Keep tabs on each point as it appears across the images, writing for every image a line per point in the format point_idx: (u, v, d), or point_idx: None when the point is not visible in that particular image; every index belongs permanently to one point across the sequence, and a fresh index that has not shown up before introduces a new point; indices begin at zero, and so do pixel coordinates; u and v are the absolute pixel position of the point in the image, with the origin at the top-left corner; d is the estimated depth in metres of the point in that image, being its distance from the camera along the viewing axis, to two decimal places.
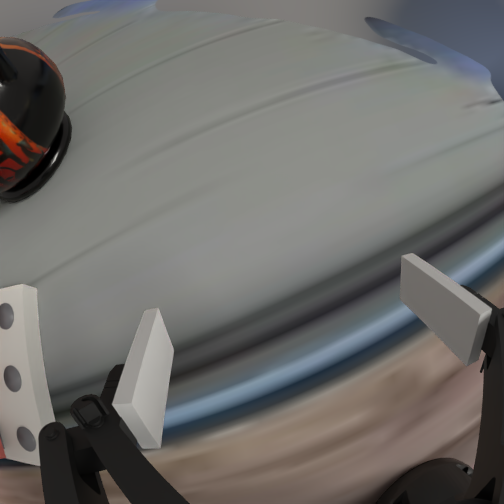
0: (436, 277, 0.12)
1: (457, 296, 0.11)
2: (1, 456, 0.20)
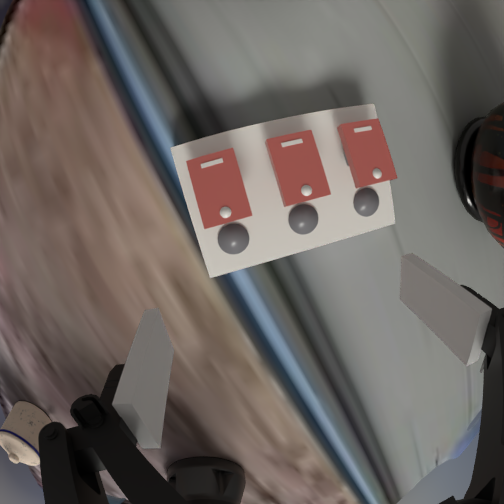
0: (436, 277, 0.12)
1: (457, 296, 0.11)
2: (207, 228, 0.28)
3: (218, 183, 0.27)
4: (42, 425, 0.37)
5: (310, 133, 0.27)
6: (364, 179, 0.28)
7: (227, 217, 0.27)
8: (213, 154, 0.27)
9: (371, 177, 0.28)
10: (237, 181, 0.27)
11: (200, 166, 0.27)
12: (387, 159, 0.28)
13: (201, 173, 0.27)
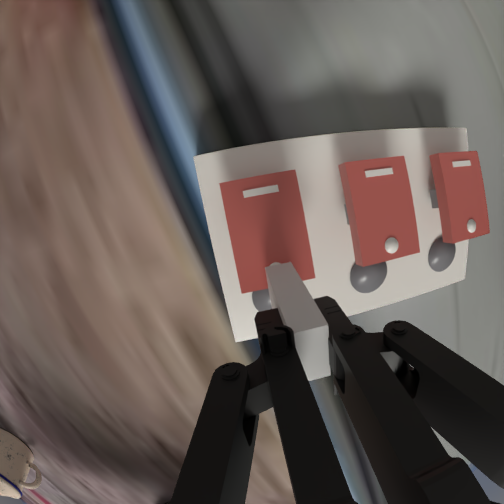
0: (293, 287, 0.14)
1: (299, 308, 0.13)
2: None
3: (268, 224, 0.18)
4: (22, 458, 0.28)
5: (403, 161, 0.18)
6: (458, 233, 0.18)
7: None
8: (264, 177, 0.17)
9: (465, 231, 0.19)
10: (298, 224, 0.18)
11: (242, 194, 0.17)
12: (482, 207, 0.18)
13: (243, 206, 0.17)
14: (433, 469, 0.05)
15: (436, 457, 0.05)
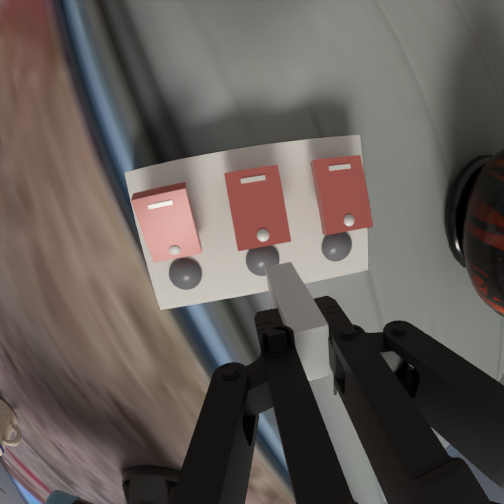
0: (293, 287, 0.14)
1: (299, 308, 0.13)
2: None
3: (167, 224, 0.25)
4: (6, 419, 0.35)
5: (276, 169, 0.25)
6: (332, 226, 0.26)
7: (176, 254, 0.26)
8: (162, 195, 0.23)
9: (341, 224, 0.26)
10: (188, 223, 0.25)
11: (147, 207, 0.23)
12: (363, 204, 0.26)
13: (149, 214, 0.24)
14: (433, 469, 0.05)
15: (436, 457, 0.05)
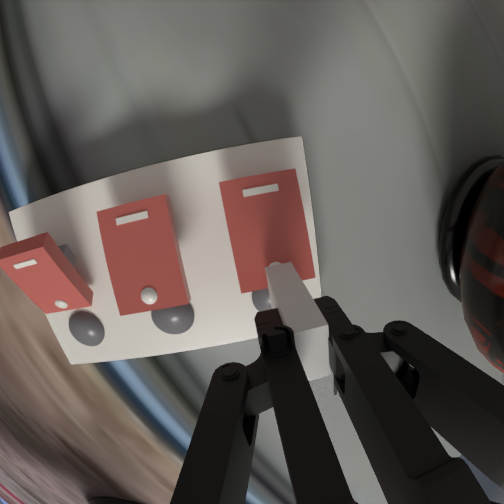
0: (293, 287, 0.14)
1: (299, 308, 0.13)
2: None
3: (41, 281, 0.17)
4: None
5: (162, 201, 0.17)
6: (250, 281, 0.18)
7: (64, 307, 0.19)
8: (22, 255, 0.15)
9: (264, 277, 0.18)
10: (62, 280, 0.17)
11: (14, 266, 0.15)
12: (300, 244, 0.18)
13: (18, 273, 0.16)
14: (433, 469, 0.05)
15: (436, 457, 0.05)
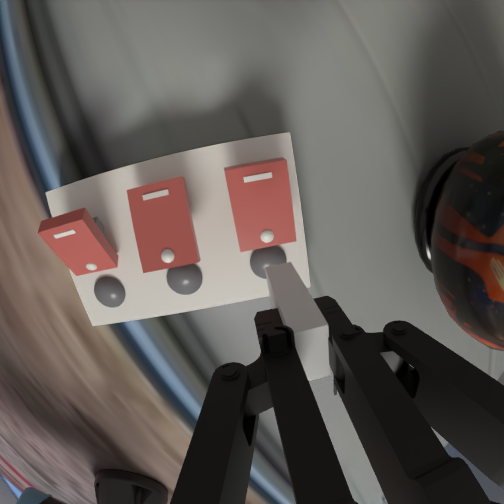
0: (293, 287, 0.14)
1: (299, 308, 0.13)
2: None
3: (77, 248, 0.22)
4: None
5: (180, 181, 0.22)
6: (247, 243, 0.24)
7: (94, 269, 0.24)
8: (63, 226, 0.20)
9: (258, 241, 0.24)
10: (95, 246, 0.22)
11: (54, 236, 0.20)
12: (286, 217, 0.23)
13: (57, 241, 0.21)
14: (433, 469, 0.05)
15: (436, 457, 0.05)
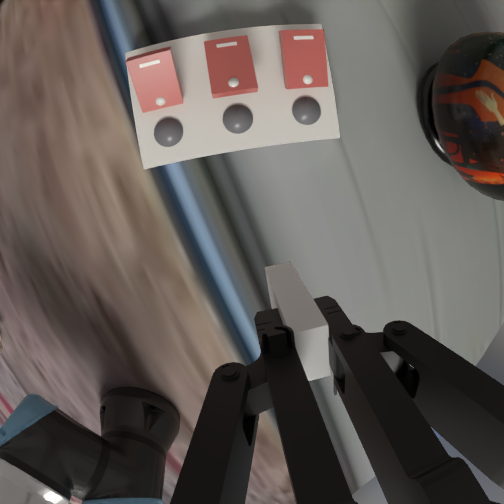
0: (293, 287, 0.14)
1: (299, 308, 0.13)
2: None
3: (155, 79, 0.26)
4: None
5: (245, 38, 0.26)
6: (293, 83, 0.28)
7: (161, 105, 0.28)
8: (151, 56, 0.23)
9: (300, 82, 0.28)
10: (172, 78, 0.26)
11: (139, 66, 0.24)
12: (322, 68, 0.27)
13: (140, 72, 0.25)
14: (433, 469, 0.05)
15: (436, 457, 0.05)
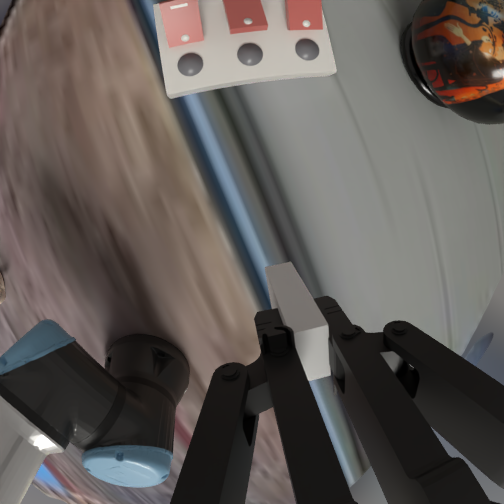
0: (293, 287, 0.14)
1: (299, 308, 0.13)
2: None
3: (182, 19, 0.28)
4: None
5: None
6: (294, 25, 0.30)
7: (186, 41, 0.31)
8: (180, 0, 0.26)
9: (300, 25, 0.30)
10: (196, 18, 0.28)
11: (169, 8, 0.26)
12: (318, 15, 0.30)
13: (170, 12, 0.27)
14: (433, 469, 0.05)
15: (436, 457, 0.05)
